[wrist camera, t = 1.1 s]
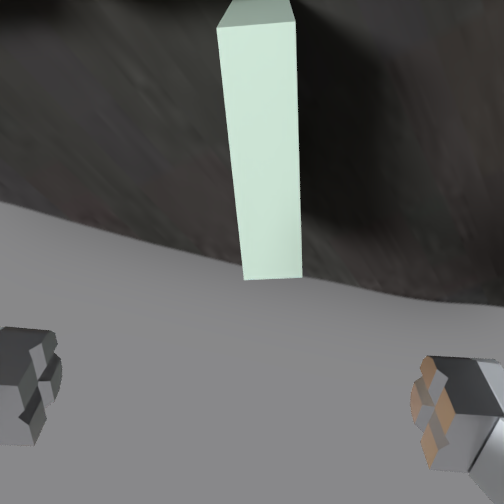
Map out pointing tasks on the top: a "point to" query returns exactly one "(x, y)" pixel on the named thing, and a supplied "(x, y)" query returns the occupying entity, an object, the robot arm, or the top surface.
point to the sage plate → (263, 133)
